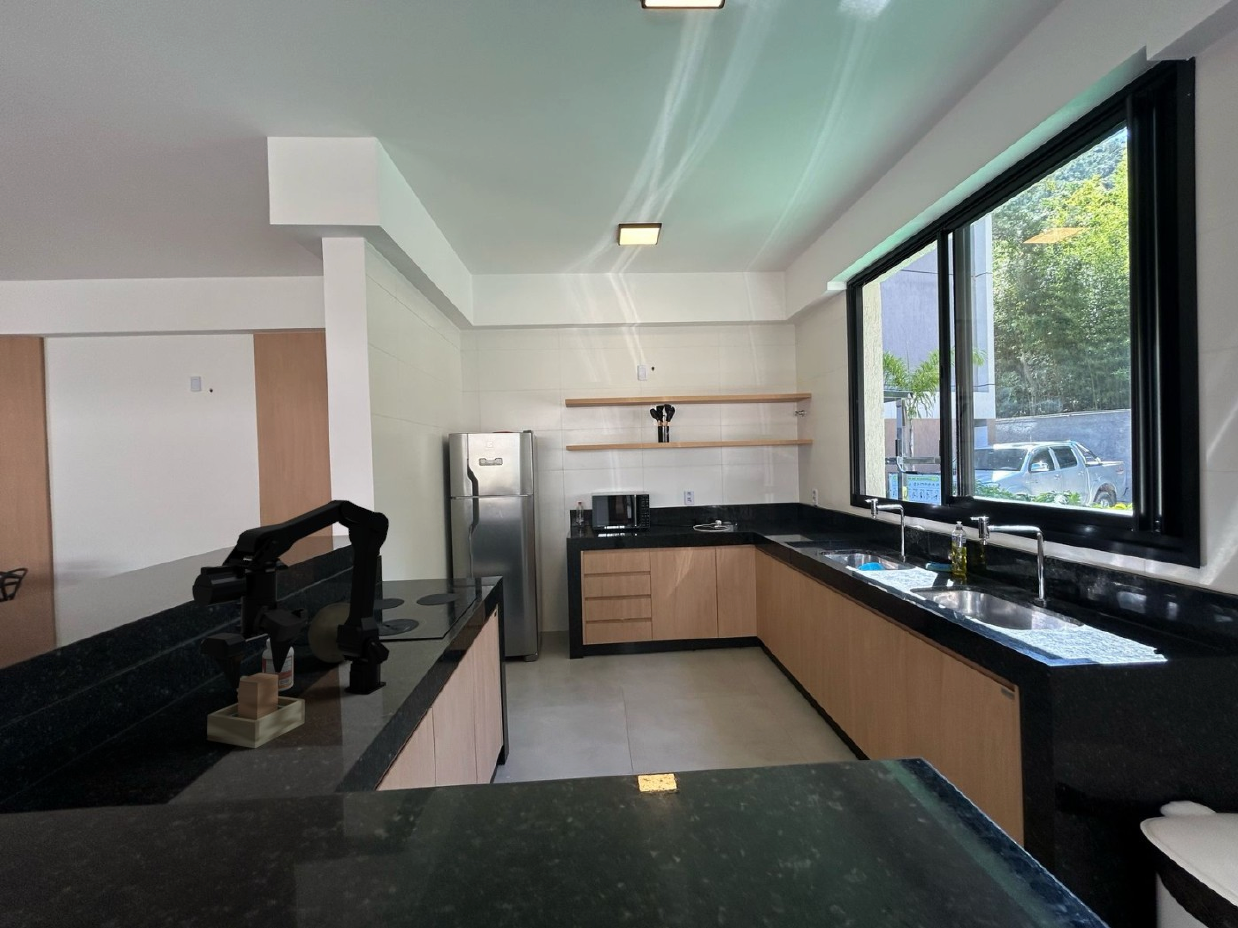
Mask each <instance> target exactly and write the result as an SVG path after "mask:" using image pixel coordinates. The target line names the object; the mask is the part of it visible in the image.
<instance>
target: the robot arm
mask: <svg viewBox="0 0 1238 928" xmlns="http://www.w3.org/2000/svg"><path fill="white" fill-rule="evenodd" d="M336 523H338V524H339V525H340V526H343V527H345V528H347V531H348V540H349V542H350V544H351V546H352V548H353V555H354V556H353V567H352V578H351V587H350V589H351V590H350V600H349V601H350V602H349V603H350V611H349V617H348V618H347V620H346V621H345V623H344V624H339V625H338V627H337V639H336V642H335V643H338V650H339V651H340V652H341V653H342V655H343V658H344V661H346V662H347V661H348V662H351V663H350V664H349V665H350V667H349V668H350V671H348V672H349V677H348V678H349V680H348V681H349V683H348V686H347V687H344V689H343V691H344V692H350V693H357V694H365V695H366V694H367V695H368V694H371V693H373V692H375V691H376V690H378V689H380V688H382V687H384V686H386V685H387V681H382V678H381V677H382V676H381V674H382V670H381V669H382V664H383V663H384V662H387V661H388V659H389V655H390V649H389V648H387V647H386V646H385V645H384V644H383V643H382V642H381V641H380V640H381V639H380V630H379V629H380V628H379V626H378V623H377V621H376V619H375V616H374V608H375V593H376V584H377V583H376V582H377V581H376V580H377V570H378V558H379V557H378V556H379V551H380V550H381V548H382V547H383V545H384V544H385V542H386V539H387V536H388V532H389V527H390V520H389V518H388V517H387V516H386V514H384V513H383V512H380V511H374V510H371V509H368V508H365V507H362V506H360V505H357V504H356V503H354V502H352V501H351V500H349V499H347V500H346V499H332V500H330V501H328V502H327V503H326V504H323V505H321V506H318V507H316V508H314V509H311V510H309V511H307V512H305V513H304V512H303V513H302V514H299V515H297V516H294V517H293V518H291V519H288V520H286V521H283V522H279V523H276V524H274V523H273V524H270V525H263V526H258V527H255V528H254V527H253V528H250V529H246V530H244V531H242V532H241V533H240V534H239V535H238V539H237V540H236V544H235V545H234V547H233V548H232V550H231V551H230V552H229V554H228V555H227V556H226V558H225V559H224V561H223V562H222V564H221V565H217V566H202V567H200V571H199V572H200V573H199V575H197V576H196V578H195V580H194V583H193V585H192V589H191V590H192V591H191V593H192V598H193V600H194V602H195V604H196V605H198V606H199V607H201V608H205V607H211V606H216V605H220V604H222V605H223V604H227V603H233V602H237V601H239V600H240V602H237V603H235V610H240V624H237V625H235V628H234V631H235V632H239V633H232V632H229V633H228V632H220V633H216V634H213V635H212V634H211V635H209V636H206V637H204V638H203V639H202V641H201V642H200V654H201V655H206V656H207V657H208V658H213V660H214V661H215V662H216V664H217V666H219V667H220V669H221V671H222V672H223V675H224V676H225V678H226V679H227V681H228V684H229V685H230V686H231V688H232V689H234V690H236V689H238V688H239V683H240V678H241V665H242V664H241V663H242V660H243V658H244V657H245V656H246V654H247V651H244V649H245V648H246V644H247V643H251V642H254V641H256V640H260V639H263V638H266V637H268V639H270V646H271V652H272V659H273V666H274V669H275V672H277V673H280V672H281V671H282V668H283V665H284V663H285V660H286V657H287V655H288V652H289V650H290V648H291V647H292V645H293V644H294V643H295V642H296V641H297V640H298V639H300V638H301V637H302V636H304V632H309V622H310V621H309V610H308V609H306V608H305V607H303V606H302V607H299V608H295V609H294V610H288V611H286V610H285V609H284V603H283V602H282V599H278V598H277V597H278V595H277V593H278V572H279V571H284V570H285V571H286V570H288V569H289V565H288V564H286V563H285V562H283V561H282V560H281V558H280V557H282V555H283V556H284V554H285V553H287V552H289V551H290V549H292V547H293V545H294V544H295V543H297V542H298V541H300V540H302V539H305V538H307V537H309V536H311V535H312V534H315V533H317V532H319V531H322V530H324V529H326V528H328V527H330V526H332V525H335V524H336Z"/></svg>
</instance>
